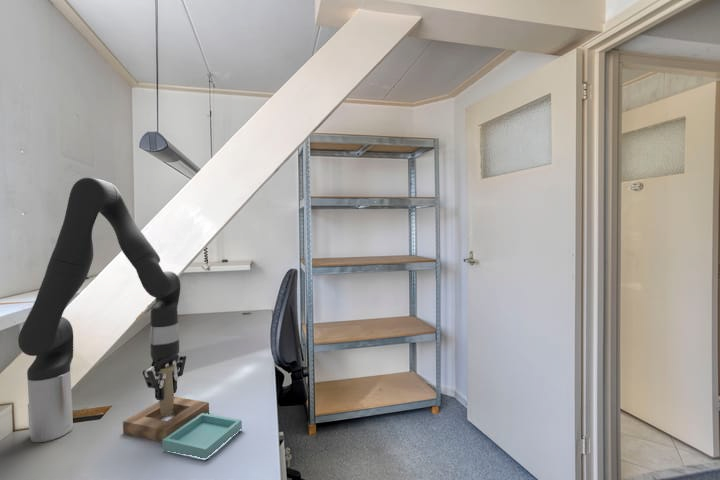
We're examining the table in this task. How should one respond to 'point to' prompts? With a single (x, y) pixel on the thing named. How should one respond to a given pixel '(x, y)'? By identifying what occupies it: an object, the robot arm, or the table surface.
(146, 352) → the table surface
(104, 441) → the table surface
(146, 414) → the socket block
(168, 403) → the handle
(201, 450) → the tray
